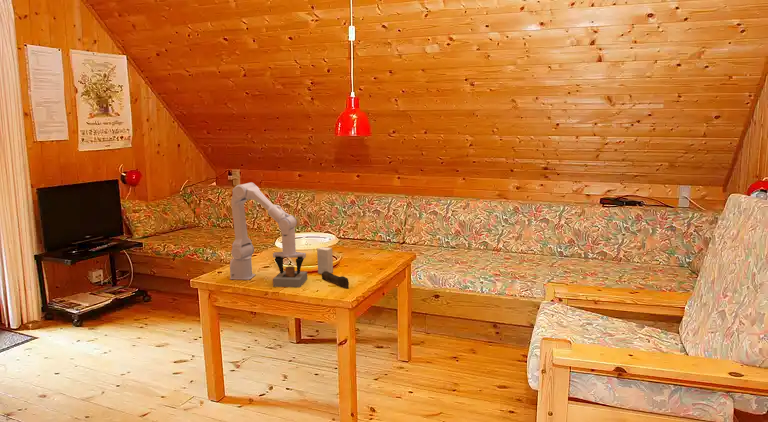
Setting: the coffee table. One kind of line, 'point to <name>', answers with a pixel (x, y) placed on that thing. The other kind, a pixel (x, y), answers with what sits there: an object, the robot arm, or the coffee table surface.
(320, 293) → the coffee table surface
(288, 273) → the walnut peg
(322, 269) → the skincare box
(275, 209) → the robot arm
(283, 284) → the socket stand
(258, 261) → the coffee table surface
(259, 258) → the coffee table surface
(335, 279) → the hand tool
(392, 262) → the coffee table surface
